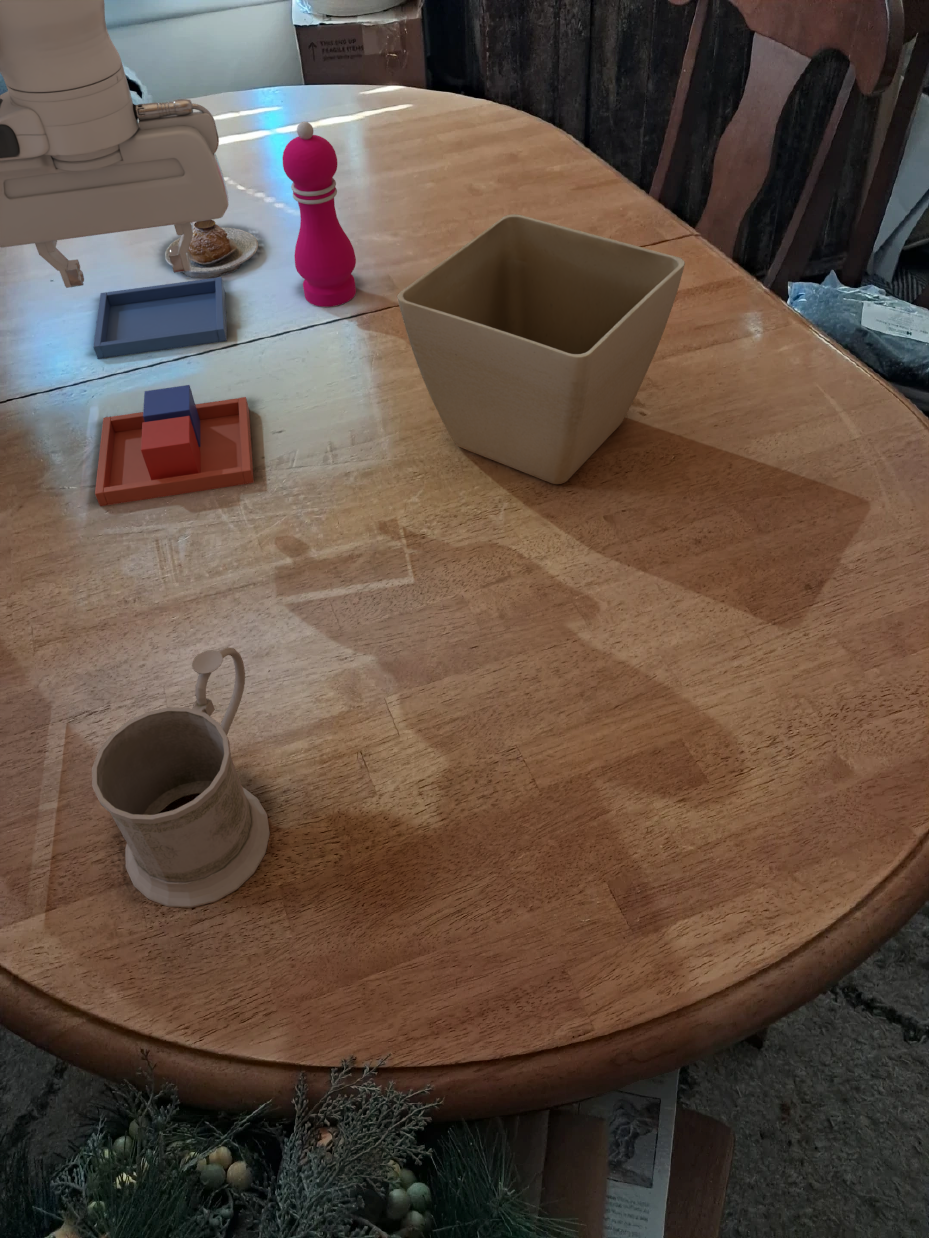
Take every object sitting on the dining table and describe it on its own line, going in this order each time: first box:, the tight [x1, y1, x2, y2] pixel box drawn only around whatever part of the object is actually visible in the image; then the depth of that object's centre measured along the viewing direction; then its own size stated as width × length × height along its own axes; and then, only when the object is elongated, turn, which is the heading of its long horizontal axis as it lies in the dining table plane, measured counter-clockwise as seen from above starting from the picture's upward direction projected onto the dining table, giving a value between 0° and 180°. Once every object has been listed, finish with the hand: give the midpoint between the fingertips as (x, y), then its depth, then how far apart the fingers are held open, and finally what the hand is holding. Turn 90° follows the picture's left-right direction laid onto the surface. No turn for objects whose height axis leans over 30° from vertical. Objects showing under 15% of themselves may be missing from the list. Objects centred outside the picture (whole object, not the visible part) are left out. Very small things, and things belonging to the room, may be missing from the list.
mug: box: [91, 646, 271, 909], centre depth 66 cm, size 14×10×12 cm
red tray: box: [94, 396, 255, 507], centre depth 98 cm, size 15×13×2 cm
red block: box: [141, 416, 201, 480], centre depth 95 cm, size 4×4×4 cm
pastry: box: [164, 219, 259, 279], centre depth 127 cm, size 12×12×5 cm
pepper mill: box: [282, 121, 357, 308], centre depth 113 cm, size 7×7×20 cm
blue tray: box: [92, 276, 228, 360], centre depth 117 cm, size 15×13×2 cm
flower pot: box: [396, 213, 686, 485], centre depth 93 cm, size 19×19×17 cm
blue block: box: [142, 384, 200, 447], centre depth 99 cm, size 4×4×4 cm
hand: (129, 276), depth 88 cm, fingers open, 8 cm apart
